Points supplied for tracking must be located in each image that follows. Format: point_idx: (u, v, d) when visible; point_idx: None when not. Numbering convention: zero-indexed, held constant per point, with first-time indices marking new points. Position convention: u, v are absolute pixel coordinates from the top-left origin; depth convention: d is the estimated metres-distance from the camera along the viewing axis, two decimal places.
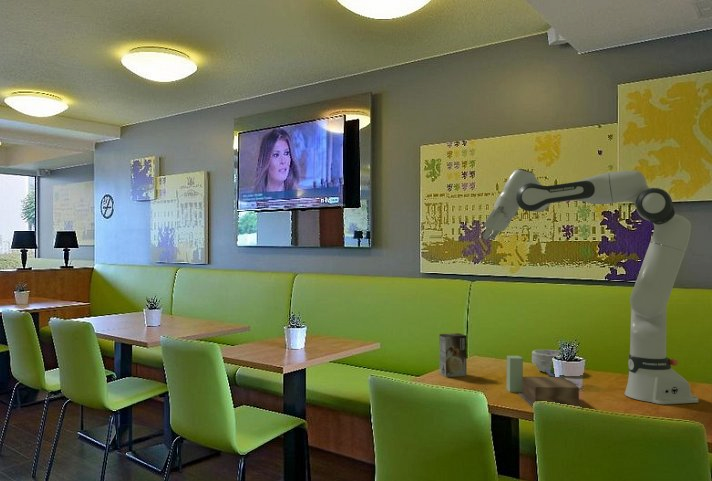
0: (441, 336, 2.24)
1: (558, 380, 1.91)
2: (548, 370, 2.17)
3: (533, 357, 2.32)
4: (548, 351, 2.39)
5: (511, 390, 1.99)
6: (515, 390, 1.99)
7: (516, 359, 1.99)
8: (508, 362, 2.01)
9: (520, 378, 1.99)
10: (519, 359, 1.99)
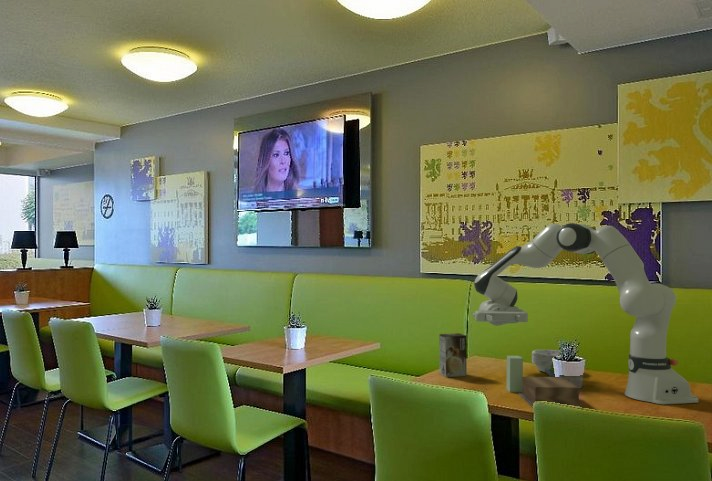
0: (441, 336, 2.24)
1: (558, 380, 1.91)
2: (548, 370, 2.17)
3: (533, 357, 2.32)
4: (548, 351, 2.39)
5: (511, 390, 1.99)
6: (515, 390, 1.99)
7: (516, 359, 1.99)
8: (508, 362, 2.01)
9: (520, 378, 1.99)
10: (519, 359, 1.99)
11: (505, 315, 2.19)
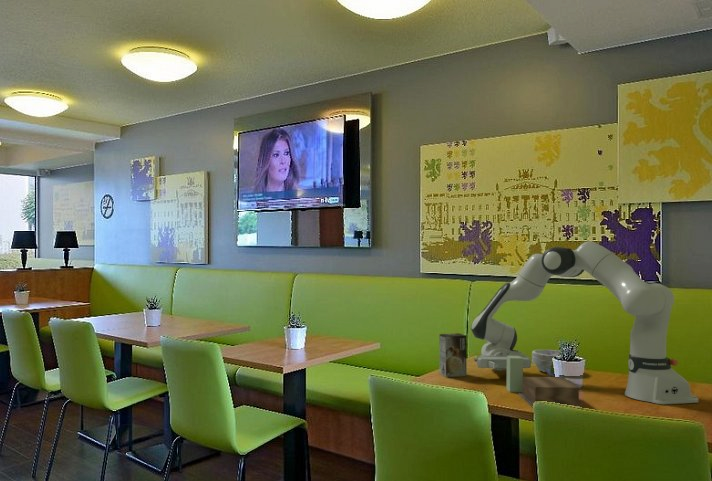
0: (441, 336, 2.24)
1: (558, 380, 1.91)
2: (548, 370, 2.17)
3: (533, 357, 2.32)
4: (548, 351, 2.39)
5: (511, 390, 1.99)
6: (515, 390, 1.99)
7: (516, 359, 1.99)
8: (508, 362, 2.01)
9: (520, 378, 1.99)
10: (519, 359, 1.99)
11: None
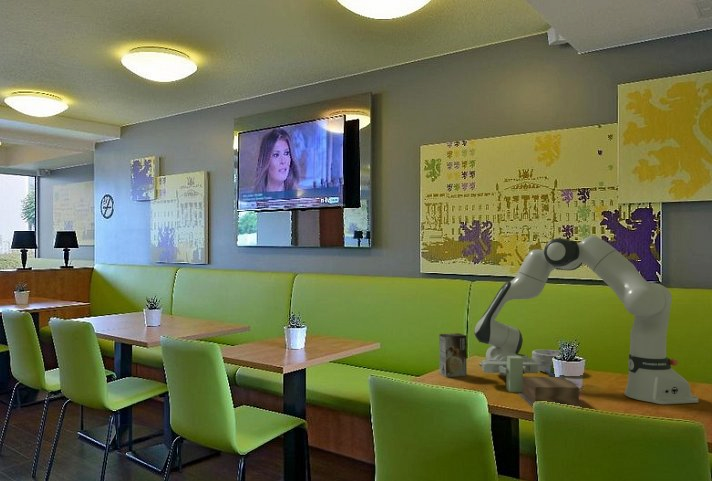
0: (441, 336, 2.24)
1: (558, 380, 1.91)
2: (548, 370, 2.17)
3: (533, 357, 2.32)
4: (548, 351, 2.39)
5: (511, 390, 1.99)
6: (515, 390, 1.99)
7: (516, 359, 1.99)
8: (508, 362, 2.01)
9: (520, 378, 1.99)
10: (519, 359, 1.99)
11: None
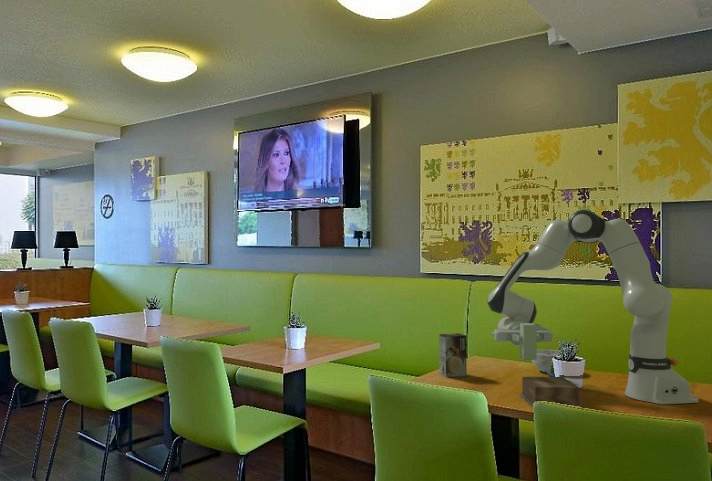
0: (441, 336, 2.24)
1: (558, 380, 1.91)
2: (548, 370, 2.17)
3: None
4: (548, 351, 2.39)
5: (525, 358, 1.94)
6: (529, 358, 1.94)
7: (530, 326, 1.94)
8: (521, 329, 1.97)
9: (534, 345, 1.94)
10: (533, 326, 1.94)
11: None
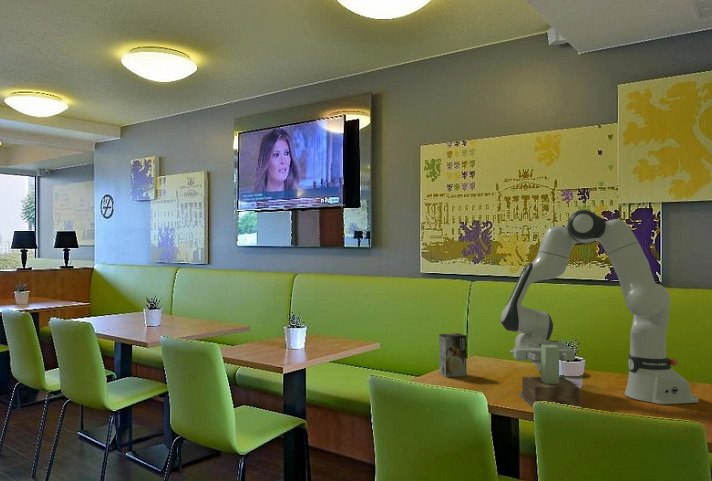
0: (441, 336, 2.24)
1: None
2: None
3: None
4: None
5: (547, 381, 1.86)
6: (551, 381, 1.86)
7: (552, 348, 1.86)
8: (543, 351, 1.88)
9: (556, 368, 1.86)
10: (555, 348, 1.86)
11: None
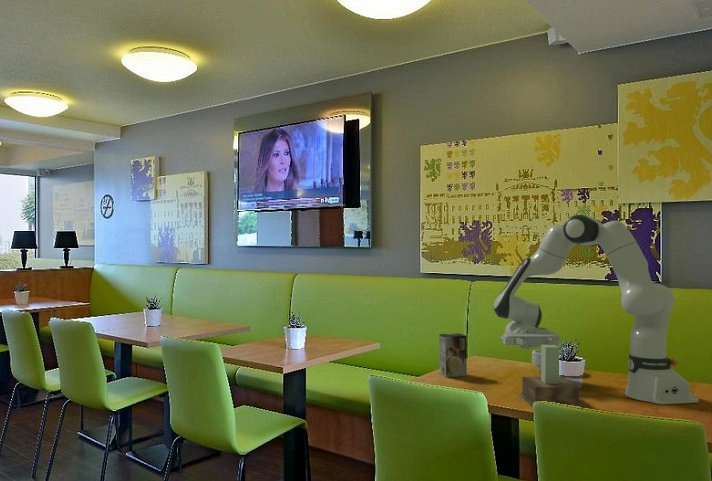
0: (441, 336, 2.24)
1: None
2: None
3: (533, 357, 2.32)
4: None
5: (547, 381, 1.86)
6: (551, 381, 1.86)
7: (552, 348, 1.86)
8: (543, 351, 1.88)
9: (556, 368, 1.86)
10: (555, 348, 1.86)
11: (535, 338, 2.07)
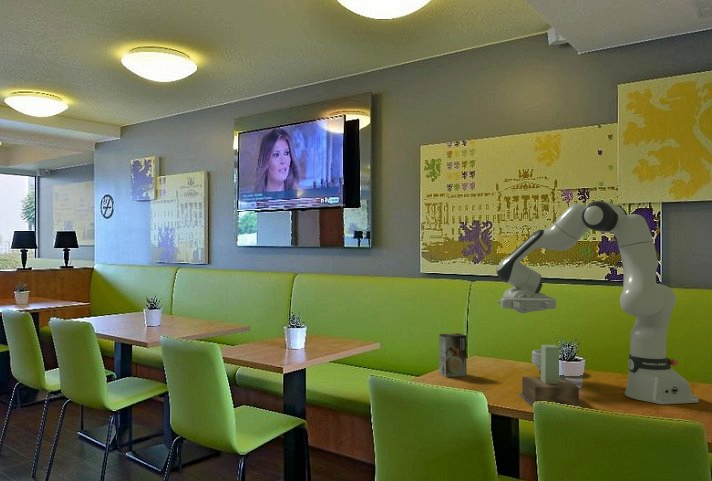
0: (441, 336, 2.24)
1: None
2: None
3: (533, 357, 2.32)
4: None
5: (547, 381, 1.86)
6: (551, 381, 1.86)
7: (552, 348, 1.86)
8: (543, 351, 1.88)
9: (556, 368, 1.86)
10: (555, 348, 1.86)
11: (532, 302, 2.11)
